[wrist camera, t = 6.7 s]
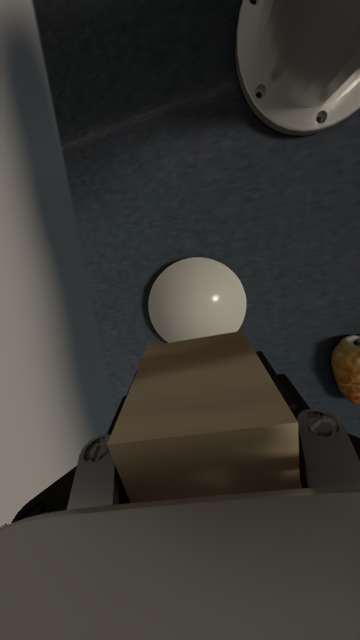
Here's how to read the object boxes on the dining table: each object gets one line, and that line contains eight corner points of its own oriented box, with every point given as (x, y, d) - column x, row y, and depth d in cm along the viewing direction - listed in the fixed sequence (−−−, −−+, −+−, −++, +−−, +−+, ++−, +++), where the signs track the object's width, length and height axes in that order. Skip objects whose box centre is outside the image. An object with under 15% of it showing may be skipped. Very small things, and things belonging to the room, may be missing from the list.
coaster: (138, 267, 24) (137, 268, 23) (239, 247, 23) (240, 247, 22) (161, 354, 28) (160, 357, 27) (248, 340, 26) (250, 343, 26)
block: (147, 346, 12) (106, 444, 6) (242, 330, 11) (298, 422, 5) (167, 419, 13) (150, 552, 7) (251, 409, 13) (301, 543, 7)
